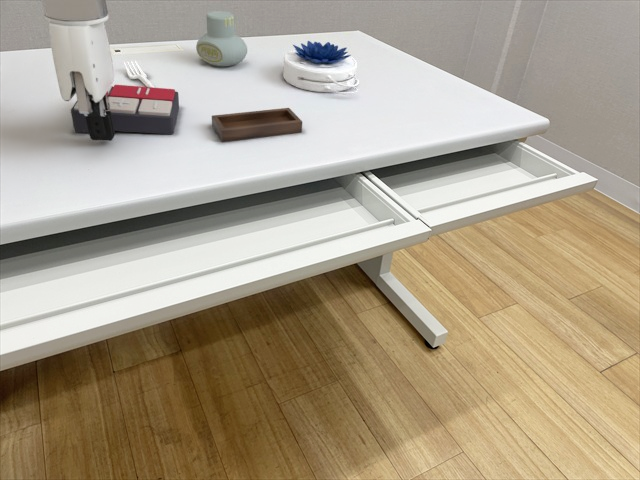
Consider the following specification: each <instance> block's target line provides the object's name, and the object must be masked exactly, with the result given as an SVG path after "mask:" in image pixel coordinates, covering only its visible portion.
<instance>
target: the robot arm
mask: <svg viewBox="0 0 640 480" xmlns="http://www.w3.org/2000/svg"><path fill="white" fill-rule="evenodd" d="M40 5H41V8H42V13H43V18H44V20H45V21H46V22H48V30H49V32H48V33H49V41H50V47H51V55H52V59H53V65H54V70H55V75H56V79H57V84H58V89H59V93H60V97H61V99H62V100H63V101H64V102H70V101H71V100H72V99H73V98H74V96H75V95H76V101H77V102H78V109H79V113H80V114H84V116H85V118H86V122H87V127H88V131H89V133H88V135H89V139H90V140H91V141H106V142H107V141H108V142H110V141H113V139H114V137H115V136H116V131H114V126H113V120H112V115H111V111H106V110H110V102H109V96H108V89H109V88H110V86H112V85H113V83H114V80H115V70H114V61H113V56H112V51H111V47H110V42H109V38H108V37H109V36H108V33H107V30H106V25H105V22H107V21H108V20H109V19H110V16H109V10H108V5H107V0H40Z"/></svg>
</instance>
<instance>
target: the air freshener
mask: <svg viewBox="0 0 640 480" xmlns="http://www.w3.org/2000/svg"><path fill="white" fill-rule="evenodd" d="M206 31H207V32H206V33H205V34H203V35H202V36H200V37H199V39H198V40H197V42H196V46H195V48H196V53H197V55H198V56H199V57H200V58H201V60H203V61H204V62H206V63H208V64H210V65H211V66H212V67H216V68H217V67H218V68H221V67H230V66H231V67H232V66H235V65H237V64H239V63H241V62H243V60H244V59H245V58H246V57H247V54H248V46H247V44H246V42H245V40H244V39H243V38H242V37H240V36H239V35H237V34H236V16H235V15H234V13H232V12H229V11H224V10H223V11H222V10H213V11H209V12H207V14H206Z"/></svg>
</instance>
